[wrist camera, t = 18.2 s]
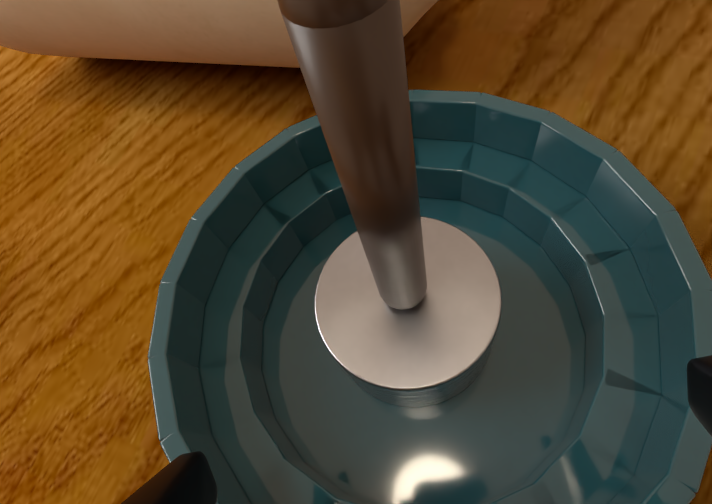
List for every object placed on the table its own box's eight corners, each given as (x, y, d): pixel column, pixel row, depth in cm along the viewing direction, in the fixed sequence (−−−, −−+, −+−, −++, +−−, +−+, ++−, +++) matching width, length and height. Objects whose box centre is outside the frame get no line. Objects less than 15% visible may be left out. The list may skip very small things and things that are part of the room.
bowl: (767, 459, 13) (911, 447, 9) (282, 686, 12) (205, 781, 8) (494, 120, 20) (505, 32, 16) (187, 254, 20) (123, 197, 16)
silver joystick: (446, 442, 14) (445, 248, 2) (305, 355, 16) (-37, 38, 5) (519, 295, 16) (712, -208, 4) (383, 234, 18) (272, -209, 6)
